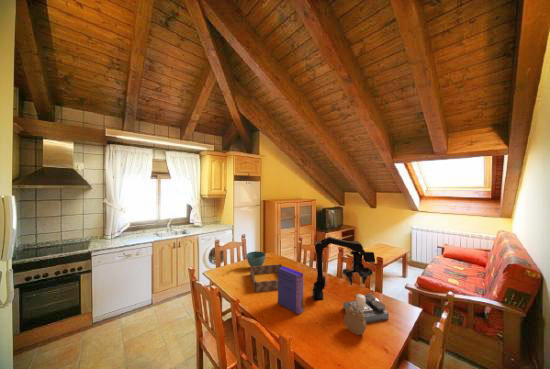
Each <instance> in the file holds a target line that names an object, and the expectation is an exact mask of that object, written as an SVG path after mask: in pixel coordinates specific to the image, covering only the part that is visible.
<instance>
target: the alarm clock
mask: <svg viewBox="0 0 550 369" xmlns="http://www.w3.org/2000/svg"><path fill="white" fill-rule="evenodd" d="M350 306H353V307H355V308H357V309H358V311H355V310H354V309H353V308H352V307H350ZM350 306H349V307H348V306H347V308H346V309H345V310H344V312H345V314H344V317H343V322H344V325H345V326H346V328H347V329H348V330H349V331H350V332H351V333H353V334H355V335H357V336H363V334H364V333H365V331H366V329H367V328H368V327H367V326H368V325H367V324H368V323H366V321H365V319H364V318H365V315H364V313H363V312H362V311H360V309H359V308H358V307H357V306H355V305H350Z"/></svg>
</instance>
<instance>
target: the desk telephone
mask: <svg viewBox="0 0 550 369" xmlns="http://www.w3.org/2000/svg"><path fill="white" fill-rule="evenodd" d="M364 296H365V306H366V307H367V308H368V309H367V310H361V311H362V312H363V313H364V315H365V318H364V319H365V321H366V324H371V323H377V322H382V321H387V320H389V318H390V317H389V312H388V311H387V310H386V304H385V303H383V302H382V301H381V300H380V299H378V298H377V297H376V296H374V295H373V294H372V293H371V292H367V293H366V294H365V295H364ZM353 304H356V299H355V300H351V301H349V300H348V301H344V302H343V304H342V308H343V310H344V311H345V309H346V308H347V306H348V307H349V306H350V305H353ZM350 307H352V308H353V309H354V310H355V311H358V309H357V308H355V307H353V306H350Z"/></svg>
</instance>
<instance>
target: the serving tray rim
mask: <svg viewBox="0 0 550 369" xmlns="http://www.w3.org/2000/svg"><path fill="white" fill-rule="evenodd" d="M281 266H283V264H282V263H279V264H278V263H277V264H267V265H266V264H265V265H264V264H263V265H262V266H253V267H251V266H250V273H249V274H250V278H251V282H252V285H253V290H254V293H259V292H269V291H276V290H277V291H278V279H273V280H263V281H257V280H256V278H255V275H256V276H257V275H264V274H265V275H266V274H274V273H276V274H278V268H279V267H281Z"/></svg>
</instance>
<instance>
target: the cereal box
mask: <svg viewBox="0 0 550 369" xmlns="http://www.w3.org/2000/svg"><path fill="white" fill-rule="evenodd" d="M277 280H278V290H277V304H279V305H280V306H282V307H284V308H285V309H287V310H289V311H291V312H292V313H295V314H297V315H300V314H302V313H303V312H304V273H302V272H299V271H297V270H295V269H292V268H290V267H287V266H284V265H282V266H281V267H279V268H278V272H277Z"/></svg>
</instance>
